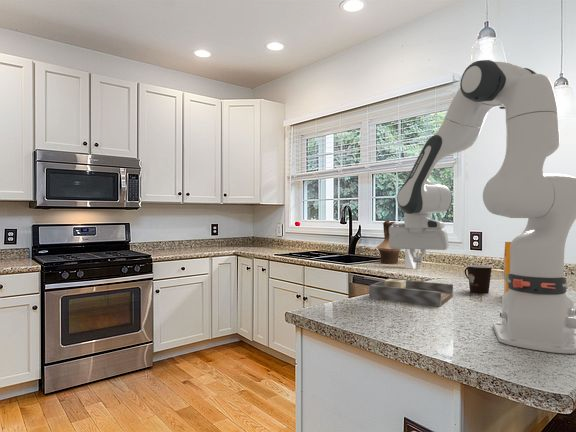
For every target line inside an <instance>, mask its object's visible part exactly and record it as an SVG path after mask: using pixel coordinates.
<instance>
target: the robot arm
mask: <svg viewBox="0 0 576 432" xmlns="http://www.w3.org/2000/svg"><path fill="white" fill-rule="evenodd" d="M459 87H460V88H458V90H457V92H456V93H455V95H454V97H453V98H452V100H451V103H450V104H449V106H448V108H447V111H446V114H445V115H444V119H443V121H442V123H441V124H440V127H439V128H438V129H437V131H436V132H435V133H434V134H433V135H432V136H430V137H429V138H427V140H426V142H425V144H424V145H423V146H422V149H421V151H420V153H419V155H418V157H417V158H416V161H415V162H414V165H413V167H412V169H411V171H410V173H409V174H408V177H407V178H406V180H405V181H404V183H403V184H402V186H400V189H398V190H399V191H398V193H397V196H396V201H397V204H398V206H399V208H400V209H401V210H402V211H403V212H404V214H403V218H404V223H394V224H392V225H391V226H392V227H391V226H390V227H389V234H390V236H389V247H390V248H391V249H401V250H405V249H410V254H411V255H412V257H413V262H416V263H417V262H420V263H423V261H424V260H423V259H424V256H425V255H426V253H427V250H429V251H431V250H433V251H435V250H437V251H446V250H448V248H449V245H450V243H449V237H448V233H447V231H446V229H445V222H443V221H441V220H437V219H435V218H431V214H432V213H433V214H439V213H445V212H447V211H449V209H450V208H451V206H452V203H453V193H452V190H451V189H450V188H449V187H448V186H447V185H444V184H439V183H435V182H433V181H431V180H429V178H430V175H431V173H432V172H433V170H434V168H435V166H436V165H437V164H438V162H440V161H441V160H442V159H445V158H447V157H448V156H451V155H454V154H457V153H460V152H464V151H465V150H467V149H469V148H471V147H472V146H473V145H474V144H475V142H476V140H478V138H479V136H480V133H481V131H482V129H483V128H482V127H483V126H484V123H485V120H486V118H487V115H488V113H489V112H490V111H491V110H492V109H494V108H497V107H498V108H499V109H500V110H504V112H505V137H506V138H505V141H506V143H505V144H506V147H505V155H504V159H503V162H502V165H501V166H500V168H499V170H498V171H497V172H496V173H495V175H493V176H492V177H491V178H490V179H489V180H488V181H487V182H486V183H485V186H484V188H483V191H482V201H483V204H484V206H485V208H486V209H487V211H488V212H489V213H491V214H493V215H496V216H500V217H503V218H504V217H505V218H509V219H528V220H527V222H526V223H527V224H526V225H525V226H526V227H525V228H524V229H523V231H522V232H521V234H519V235H517V236H516V237H514V238H513V239H512V240H511V241H510V242H511V245H510V273H509V274H508V288H509V290H508V291H507V292H506V293H503V294H502V296H501V312H500V313H499V317H500V318H501V321H494V322H492V329H493V332H494V333H495V337H496V338H497V340H498V342H500V343H502V344H505V345H508V346H514V347H518V348H523V349H527V350H535V351H542V352H546V353H547V352H548V353H554V354H555V353H556V354H572V355H573V354H576V331H575V330H576V317H575V316H576V309H575V302H574V301H573V300H572V299H570V297H568V296H567V294H566V293H567V287H568V283H567V277H566V276H565V273H564V272H565V248H566V241H567V238H568V235H569V233H570V230H571V228H572V226H573V224H574V222H575V221H576V177H575V176H571V175H568V174H564V173H544V172H543V169H544V165H545V161H546V159H547V157H549V156H551V155H552V154H554V153H555V152H556V151H557V150H558V148H559V147H560V143H561V141H560V139H561V137H560V125H559V111H558V104H557V99H556V93H555V90H554V86H553V84H552V81H551V79H550V78H549V77H548V76H547V75H544V74H542V73H537V72H535V71H534V70H532V69H531V68H527V67H522V66H518V65H515V64H512V63H509V62H505V61H493V60H491V59H482V60H481V59H480V60H476V61H473V62H472V63H470V64H469V65H468V66H467V67H466V68H465V69H464V71H463V73H462V75H461V78H460V83H459ZM415 249H416V250H420V252H419V253H421V254H420V255H419V257H417V255H416V256H415V254H414V252H415ZM420 263H419V264H420Z"/></svg>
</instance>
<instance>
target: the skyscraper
mask: <svg viewBox="0 0 576 432" xmlns="http://www.w3.org/2000/svg"><path fill="white" fill-rule="evenodd" d="M404 250H405V252H404V253H405V254H404V269H405V270H419V269H420V268H421V267H420V262H413V257H412V255H411V254H410V249H404ZM419 250H420V249H415V252H414V254H415V256H416V257H420V254H419V253H420V252H419ZM416 251H417V252H416Z"/></svg>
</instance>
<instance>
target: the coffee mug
mask: <svg viewBox="0 0 576 432" xmlns="http://www.w3.org/2000/svg"><path fill="white" fill-rule="evenodd" d="M492 269H493V268H492V266H491V265H490V266H489V265H482V264H481V265H479V264H469V265H466V268H464V275H465V277H466V278H467V280H468V284H469V291H470V293H473V294H480V295H484V294H485V295H486V294H487V295H488V294H489V293H490V285H491V284H490V283H491V277H492Z"/></svg>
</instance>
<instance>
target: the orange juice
mask: <svg viewBox="0 0 576 432" xmlns="http://www.w3.org/2000/svg"><path fill="white" fill-rule="evenodd" d="M511 242H512V241H505V243H504V254H503V269H504V270H503V279H504V280H503V282H504V283H503V285H504V286H503V287H504V288H503V291H504V293H506V292H507V291H508V290H509V288H508V274H509V273H510V245H511ZM504 293H503V294H504Z"/></svg>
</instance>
